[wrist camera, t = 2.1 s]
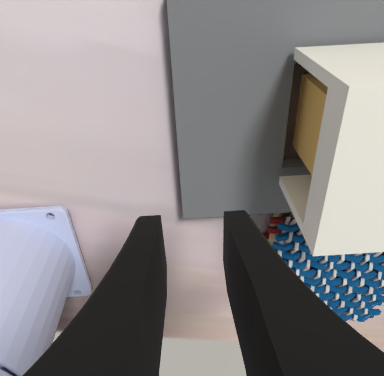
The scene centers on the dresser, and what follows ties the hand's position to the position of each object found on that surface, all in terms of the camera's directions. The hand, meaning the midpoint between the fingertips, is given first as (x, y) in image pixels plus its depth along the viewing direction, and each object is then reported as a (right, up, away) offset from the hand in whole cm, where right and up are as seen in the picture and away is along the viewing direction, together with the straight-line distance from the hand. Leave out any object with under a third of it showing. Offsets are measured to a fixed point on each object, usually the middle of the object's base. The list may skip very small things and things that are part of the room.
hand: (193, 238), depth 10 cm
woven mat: (+10, -4, +15) cm, 18 cm away
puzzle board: (+8, +6, +8) cm, 13 cm away
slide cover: (+8, +5, +7) cm, 11 cm away
